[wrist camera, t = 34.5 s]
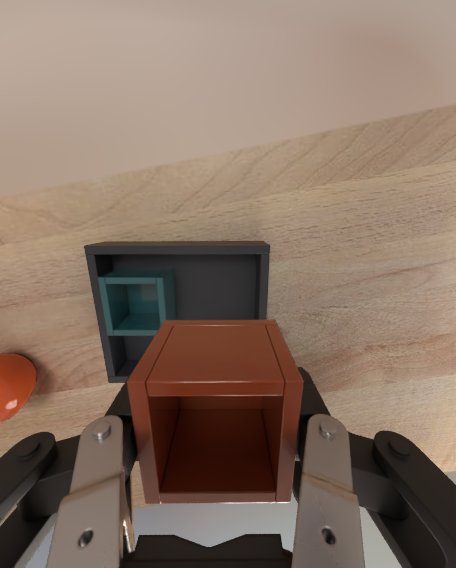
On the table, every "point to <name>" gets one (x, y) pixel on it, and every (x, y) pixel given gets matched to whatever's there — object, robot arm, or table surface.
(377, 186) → the table surface
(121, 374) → the tray
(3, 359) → the tomato
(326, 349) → the table surface
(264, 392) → the box brown
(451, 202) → the table surface
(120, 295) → the box teal
